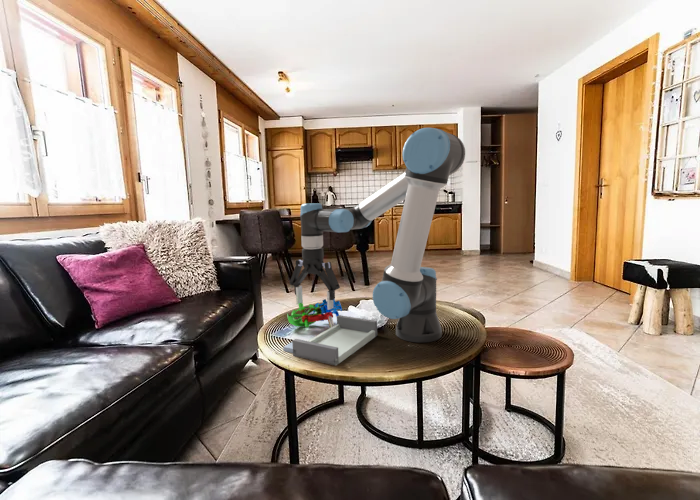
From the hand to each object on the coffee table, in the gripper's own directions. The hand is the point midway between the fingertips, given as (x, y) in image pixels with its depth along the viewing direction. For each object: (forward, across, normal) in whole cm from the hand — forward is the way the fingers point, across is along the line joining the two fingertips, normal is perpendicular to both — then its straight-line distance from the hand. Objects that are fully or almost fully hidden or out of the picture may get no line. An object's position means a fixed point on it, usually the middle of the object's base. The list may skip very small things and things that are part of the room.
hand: (314, 306), depth 129 cm
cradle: (+8, -16, +10) cm, 20 cm away
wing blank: (+8, -6, +18) cm, 21 cm away
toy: (+10, +1, -1) cm, 10 cm away
